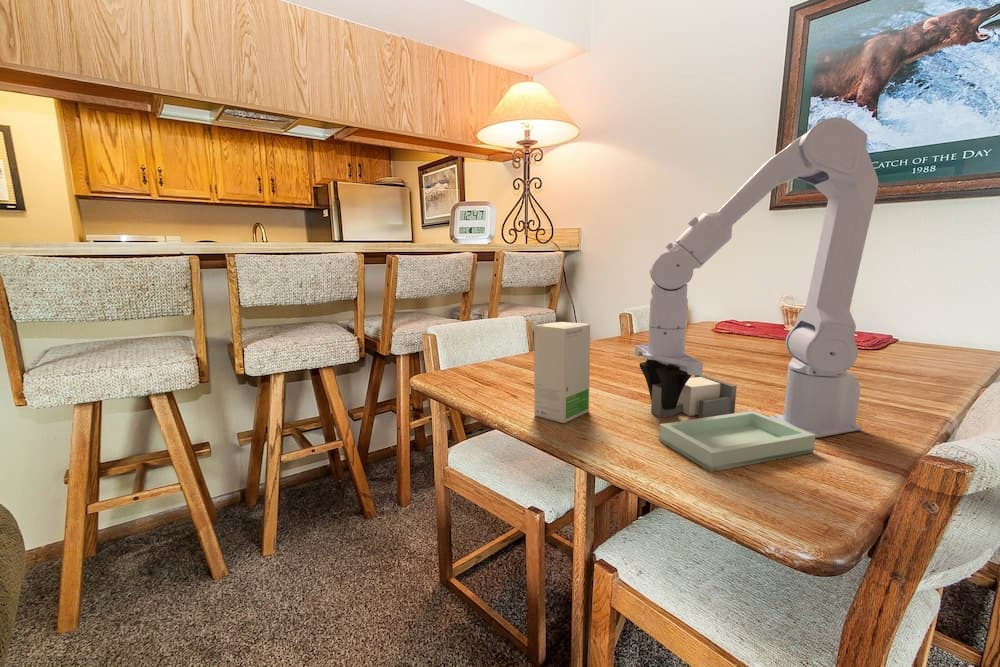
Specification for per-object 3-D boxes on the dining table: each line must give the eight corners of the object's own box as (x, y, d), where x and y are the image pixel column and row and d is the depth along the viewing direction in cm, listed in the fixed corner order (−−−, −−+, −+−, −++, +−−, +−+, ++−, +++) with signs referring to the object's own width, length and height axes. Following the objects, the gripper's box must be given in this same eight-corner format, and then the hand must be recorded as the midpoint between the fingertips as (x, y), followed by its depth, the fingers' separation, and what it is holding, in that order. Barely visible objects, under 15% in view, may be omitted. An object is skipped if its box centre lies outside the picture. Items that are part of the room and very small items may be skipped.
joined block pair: (699, 403, 79) (701, 376, 78) (718, 411, 74) (720, 383, 73) (647, 410, 75) (648, 382, 75) (664, 419, 71) (665, 390, 70)
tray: (751, 425, 68) (752, 410, 67) (813, 452, 58) (815, 434, 58) (659, 440, 63) (659, 424, 63) (710, 472, 54) (712, 453, 53)
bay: (697, 399, 81) (699, 373, 80) (734, 414, 73) (736, 385, 72) (668, 403, 79) (669, 376, 78) (702, 419, 71) (704, 389, 70)
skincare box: (563, 425, 69) (564, 329, 67) (531, 415, 74) (530, 325, 71) (590, 411, 76) (592, 322, 73) (559, 403, 80) (560, 319, 77)
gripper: (621, 322, 77) (619, 395, 79) (677, 335, 63) (672, 423, 65) (655, 319, 79) (651, 391, 81) (716, 332, 65) (710, 418, 67)
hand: (663, 405), depth 73 cm, fingers closed on joined block pair, 2 cm apart
